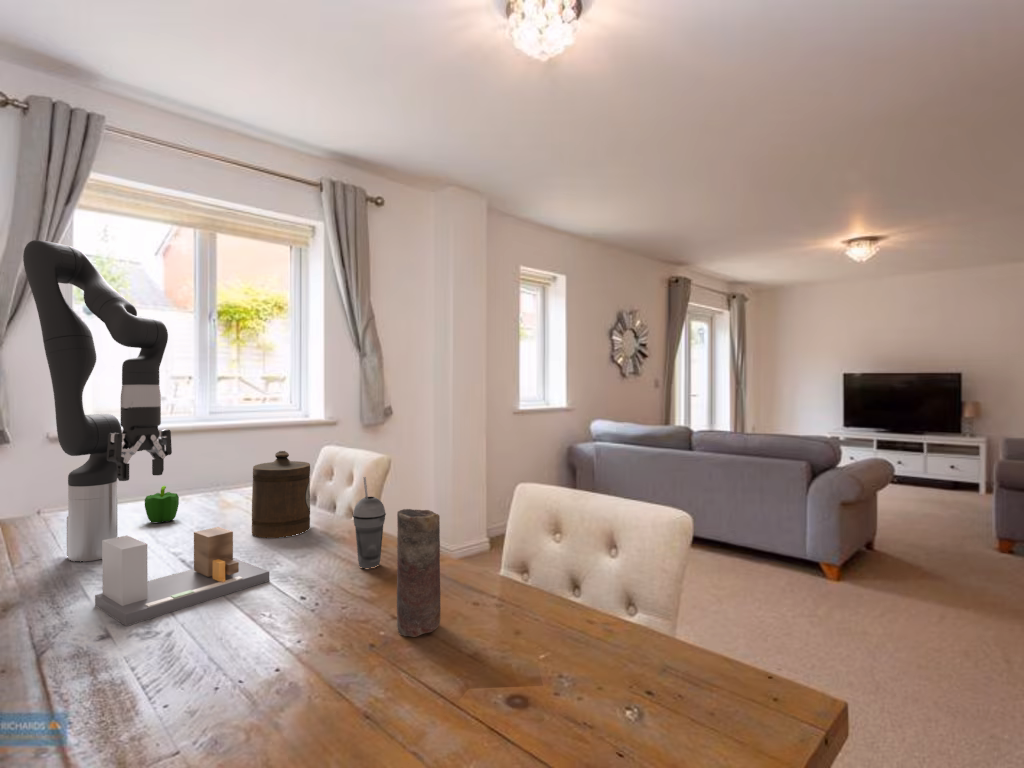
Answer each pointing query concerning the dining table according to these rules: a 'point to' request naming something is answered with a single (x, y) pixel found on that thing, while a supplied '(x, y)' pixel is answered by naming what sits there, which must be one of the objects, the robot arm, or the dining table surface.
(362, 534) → the beverage cup
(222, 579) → the pointer
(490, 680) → the dining table surface
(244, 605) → the dining table surface
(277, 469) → the wooden container
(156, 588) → the gauge base
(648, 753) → the dining table surface
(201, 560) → the brown block
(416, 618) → the rough stone vase
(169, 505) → the bell pepper
